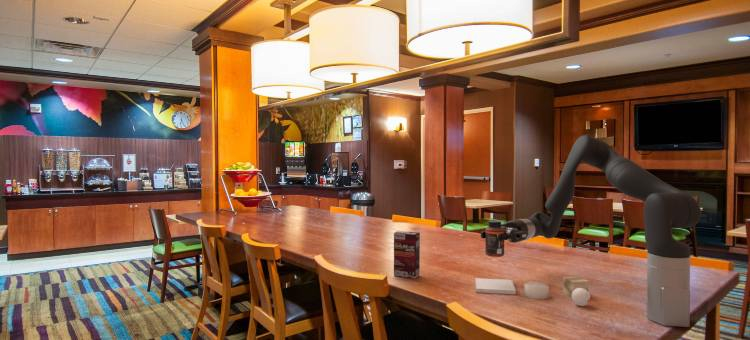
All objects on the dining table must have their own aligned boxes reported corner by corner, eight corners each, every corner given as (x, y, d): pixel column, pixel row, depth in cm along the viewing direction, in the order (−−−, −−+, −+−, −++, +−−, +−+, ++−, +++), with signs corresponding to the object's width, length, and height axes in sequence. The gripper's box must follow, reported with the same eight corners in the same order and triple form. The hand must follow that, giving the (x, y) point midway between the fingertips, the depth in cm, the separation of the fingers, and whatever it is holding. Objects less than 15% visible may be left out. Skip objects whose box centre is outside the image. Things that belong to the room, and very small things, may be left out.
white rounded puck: (550, 300, 129) (550, 288, 129) (526, 299, 130) (526, 287, 130) (546, 293, 136) (546, 282, 136) (522, 292, 137) (522, 281, 137)
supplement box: (393, 276, 156) (393, 232, 155) (398, 273, 160) (398, 230, 160) (415, 279, 152) (415, 234, 151) (420, 275, 156) (420, 232, 156)
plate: (516, 294, 134) (516, 290, 134) (476, 292, 136) (476, 288, 136) (511, 283, 146) (511, 280, 146) (475, 281, 148) (475, 278, 148)
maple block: (588, 297, 131) (588, 281, 131) (573, 298, 131) (573, 281, 131) (577, 292, 136) (577, 276, 136) (563, 293, 136) (563, 277, 135)
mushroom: (584, 309, 120) (584, 292, 120) (568, 305, 124) (568, 287, 124) (593, 306, 123) (593, 288, 123) (577, 301, 127) (577, 284, 127)
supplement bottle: (505, 257, 138) (505, 222, 137) (485, 257, 139) (485, 222, 138) (503, 253, 143) (503, 219, 143) (485, 252, 145) (484, 219, 144)
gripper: (501, 217, 155) (472, 222, 145) (538, 221, 144) (509, 227, 134) (501, 238, 156) (472, 244, 145) (538, 244, 144) (509, 251, 134)
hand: (490, 236), depth 139 cm, fingers closed on supplement bottle, 6 cm apart
